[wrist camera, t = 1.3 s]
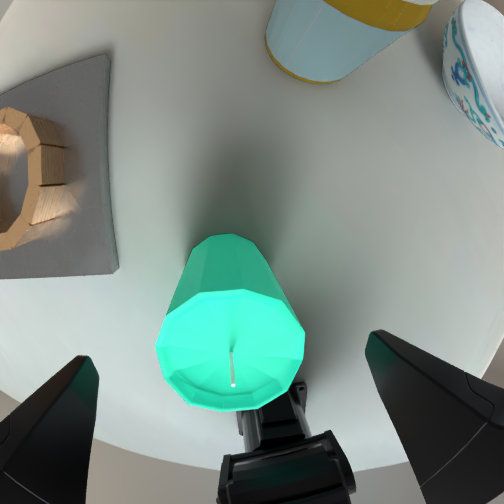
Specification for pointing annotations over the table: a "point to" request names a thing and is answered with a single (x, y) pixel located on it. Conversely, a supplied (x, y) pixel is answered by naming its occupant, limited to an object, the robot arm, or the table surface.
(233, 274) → the candle
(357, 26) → the bottle
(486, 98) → the chinaware
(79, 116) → the square plate with hole
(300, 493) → the robot arm
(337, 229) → the table surface
